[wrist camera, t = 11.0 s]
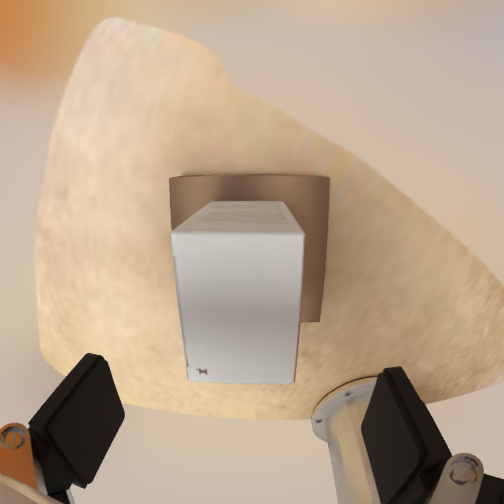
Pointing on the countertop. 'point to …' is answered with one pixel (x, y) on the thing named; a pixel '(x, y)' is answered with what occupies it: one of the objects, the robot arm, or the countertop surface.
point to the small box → (240, 291)
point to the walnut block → (268, 189)
